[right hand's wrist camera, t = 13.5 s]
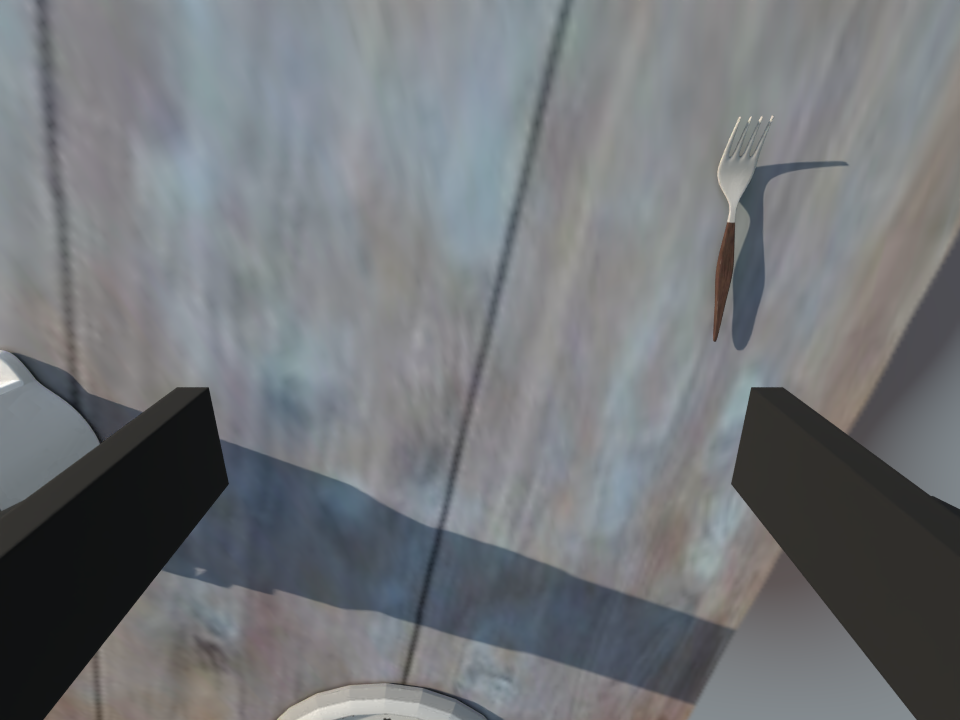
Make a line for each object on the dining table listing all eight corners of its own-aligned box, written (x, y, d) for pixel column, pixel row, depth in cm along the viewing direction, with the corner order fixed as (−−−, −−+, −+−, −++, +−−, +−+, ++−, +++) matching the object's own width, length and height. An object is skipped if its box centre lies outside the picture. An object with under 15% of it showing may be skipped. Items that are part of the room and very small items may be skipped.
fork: (695, 339, 41) (705, 348, 39) (723, 119, 35) (737, 116, 33) (728, 338, 41) (740, 347, 39) (761, 117, 35) (777, 115, 33)
